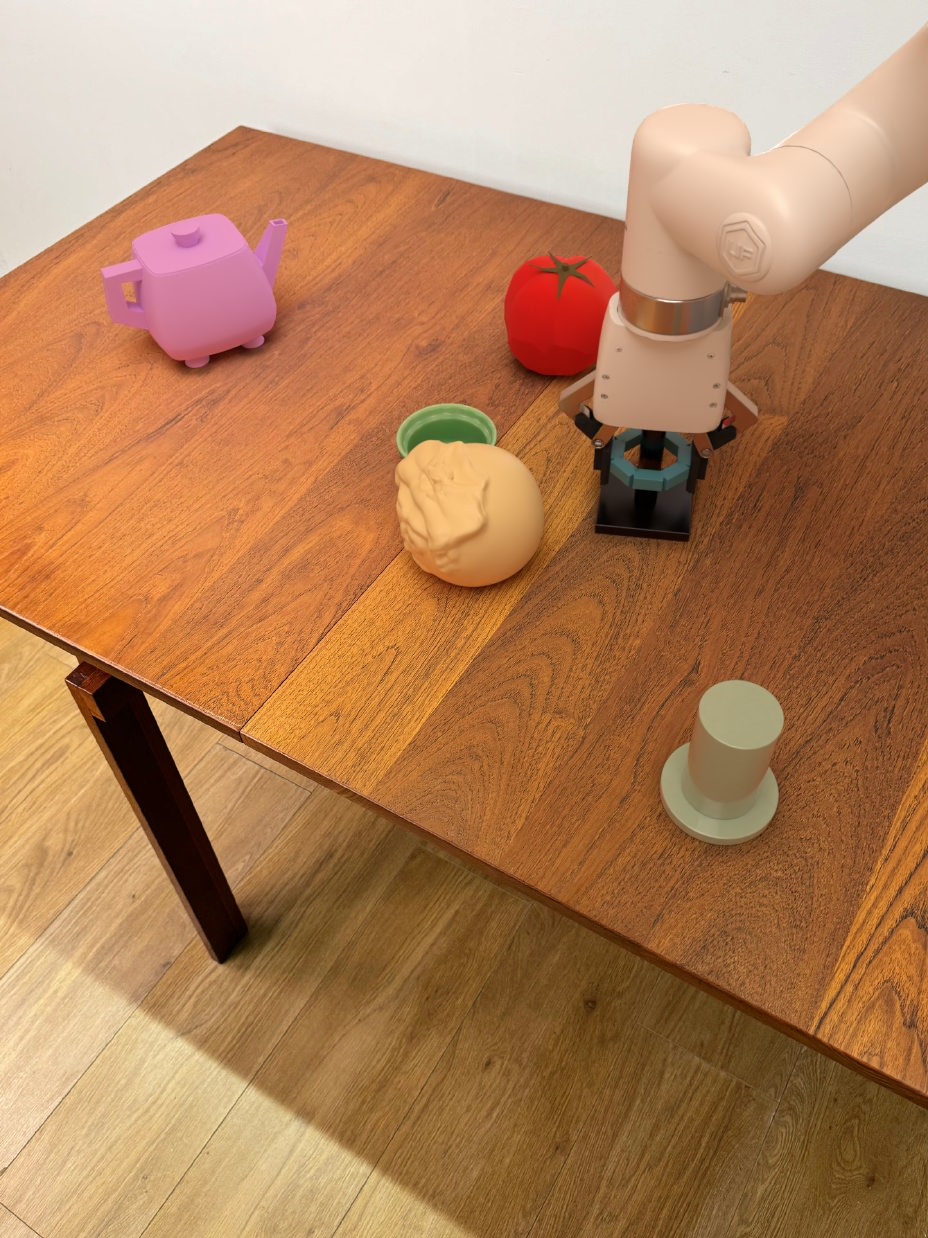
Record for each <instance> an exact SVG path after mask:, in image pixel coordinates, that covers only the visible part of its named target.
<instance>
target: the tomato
mask: <svg viewBox="0 0 928 1238" xmlns="http://www.w3.org/2000/svg"><path fill="white" fill-rule="evenodd" d="M547 252H548V254H547V255H538V256H535V257H533V258H531V259H528V260H527V261H525V262H524V263H523V264H522V265H521V266H520V267H519V268H517V270H516V271H514V273H513V274H512V277H511V279H510V282H509V283H508V288H507V291H506V294H505V297H504V300H503V302H504V304H503V309H504V310H503V311H504V312H503V313H504V314H503V319H504V324H505V327H506V332H507V345H508V347H509V349H510V352H511V353H512V354H513V356H514V357H515V358H516V359H517V360H518V362H520V363H521V364H522V366H524V367H525V368H526V369H528V370H531V371H532V372H535V373H538V374H540V375H543V376H574V375H576V374H578V373H581V372H583V371H585V370H586V369H588V368H589V367H591V366H593V365H594V364H597V358H598V350H599V343H600V336H601V331H602V325H603V321H604V317H605V313H606V310H607V307H608V304H609V301H610V298H611V297H612V296H613V295H614V294H615V293H617V292H619V290H618V288H617V286H616V285H615V283H614V281H613V280H612V278H611V277H610V275H609V274H608V273H607V272H606V271H605V269H604V268H603V267H602V266H601V265H600V264H599V263H598V262H596V261H594V260H593V259H592V257H593V255H591V256H588V257H587V256H583V255H579V254H577V255H573V256H570V257H567V258H566V257H563V256H560V255H557V254H556V255H555V254H552V252H550V251H549V250H547Z"/></svg>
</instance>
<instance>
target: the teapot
mask: <svg viewBox="0 0 928 1238" xmlns="http://www.w3.org/2000/svg"><path fill="white" fill-rule="evenodd" d="M288 228H289V223H288V222H287V220H286V219H285V218H276V219H270V220H268V224H267V227H266V228H265V230H264V232H263V234H262V236H261V238H260V239H259V242H258V243H257V245H256V247H255V249H254V250H252V248H251V247H250V244H249V243H248V241H247V240H246V239H245V237H244V236H243V235H242V234H241V232H240V230H239V229H238V228H237V226H236V225H235V224H234V223H233V222H232V221H231V220H230V219H229V217H228V216H226V215H223V213H208V214H203V215H198V216H194V217H189V218H186V219H180V220H178V221H175V222H172V223H169V224H166V225H162V226H160V227H157V228H155V229H152V230H149V231H146V232H144V233H142V234H141V235H139V236H137V237H136V238H134V239H133V241H132V242H131V251H130V254H131V255H130V257H131V258H130V260H127V261H124V262H120V263H116V264H112V265H109V266H104V267H101V268H100V274H101V279H102V285H103V293H104V297H105V302H106V308H107V314H108V316H109V318H110V320H111V322H112V324H113V323H114V324H117V325H118V324H119V325H123V326H127V327H131V328H137V329H141V330H146V331H147V332H148V333H149V334H150V336H151V337H152V339H153V340H154V341H155V342H156V344H157V345H158V346H159V347H160V348H161V349H162V350H163V351H164V352H165V354H167V355H168V356H169V357H170V358H171V359H173V360H176V361H184V364H185V366H186V367H188V368H193V369H194V368H197V369H198V368H201V367H204V366H205V365H207V364H208V363H209V361H210V356H211V355H215V354H219V353H222V352H225V351H229V350H231V349H234V348H236V347H239V346H242V347H243V348H245V349H255V348H258V347H261V346H262V345H263V344H264V342H265V337H264V336H263V335H265V334H266V333H268V332H269V331H271V330H272V329H273V327H274V324H275V322H276V318H277V311H278V310H277V303H276V299H275V296H274V292H273V290H274V286H275V283H276V278H277V275H278V271H279V266H280V262H281V259H282V258H281V257H282V253H283V249H284V246H285V242H286V236H287V233H288V230H289V229H288ZM126 283H132V289H133V295H134V300H135V301H131V300H130V301H129V300H126V296H125V292H124V289H123V285H122V284H126Z"/></svg>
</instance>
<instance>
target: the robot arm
mask: <svg viewBox="0 0 928 1238" xmlns="http://www.w3.org/2000/svg"><path fill="white" fill-rule="evenodd" d="M631 144H632V145H631V150H630V161H629V172H628V173H629V174H628V183H627V184H628V185H627V195H626V196H627V197H626V206H625V207H626V209H625V220H624V221H625V222H624V231H623V232H624V233H623V243H622V244H623V245H622V254H621V255H622V256H621V267H620V280H619V290H618V292H617V293H615V294H614V295H613V296H612V297H611V298H610V301H609V304H608V307H607V310H606V313H605V317H604V321H603V325H602V331H601V336H600V343H599V350H598V358H597V362H596V365H595V369H594V370H593V371H591V372H590V373H588V374H586V375H585V376H583V377H581V378H580V379H579V380H577V381H576V382H574V383H572V384H571V385H569V386H568V387H566V388H564V389H563V390H561V391H560V392H559V394H558V398H557V407H558V408H559V409H560V410H561V411H562V412H563V414H564V415H566V417H568V418H569V419H570V420H572V421H573V422H574V426H575V427H576V428H577V429H578V430H579V432H581V433H583V435H585V436H586V437H587V438H588V439H589V440H590V445H591V446H592V447H593V448H594V452H593V453H594V454H593V465H592V471H599V472H600V475H599V476H600V477H599V486H601V485H605V486H606V484H608V482H609V475H610V459H611V452H612V444H613V439H614V436H615V433H616V432H617V431H618V429H619V428H625V429H629V428H634V429H645V430H657V431H670V432H677V433H685V434H686V433H687V434H690V436H691V461H690V470H689V475H688V479H687V481H686V491H687V492H688V493H692V495H695V493H696V486H697V481H698V480H700V481H705V479H706V475H707V470H708V466H709V465H708V464H709V459H710V458H712V457H713V456H714V454H715V451H717V450H718V449H720V448H722V447H723V446H725V445H727V444H729V443H731V442H733V441H734V440H736V438H737V435H739V434H742V433H744V432H746V431H747V430H748V429H750V428H751V427H753V426H755V425H757V424H758V423H759V421H760V419H759V417H760V416H759V413H760V411H759V410H760V409H759V407H758V405H756V404H755V403H754V402H753V401H752V400H751V399H750V398H748V397H747V396H746V394H745V393H743V392H742V391H741V390H740V389H739V388H737V386H735V384H734V383H732V382H731V381H730V380H729V376H730V375H729V374H730V367H731V359H732V358H731V356H732V347H733V346H732V345H733V331H734V324H733V323H734V320H733V307H732V305H735V303H743V304H744V303H746V301H747V295H748V293H751V294H754V295H758V296H775V295H780V294H783V293H786V292H788V291H790V290H792V289H794V288H795V287H797V286H798V285H800V284H801V283H803V282H804V281H806V280H807V279H808V278H809V277H810V276H811V275H813V274H814V273H815V272H816V271H818V270H819V268H821V267H822V266H823V265H824V264H826V263H827V262H828V261H829V260H830V259H831V258H833V257H834V256H835V255H836V254H837V253H838V252H839V251H840V250H841V249H842V248H843V247H844V246H846V244H848V243H849V242H850V241H851V240H853V239H854V238H855V237H856V236H857V235H859V234H860V233H861V232H862V231H863V230H865V229H866V228H867V227H869V226H871V224H872V223H874V222H875V221H876V220H877V219H879V218H880V217H881V216H883V215H884V214H885V213H886V212H888V211H889V210H891V209H892V208H893V207H894V206H896V205H897V204H898V203H900V202H902V201H903V200H904V199H906V198H907V197H909V196H910V195H911V194H913V193H914V192H915V191H917V190H918V189H920V188H922V187H923V186H925V185H926V184H927V183H928V20H927V21H926V22H925V24H924V25H923V26H922V27H921V28H919V30H918V31H917V32H916V33H915V34H913V36H912V37H910V38H909V39H908V40H907V41H905V43H904V44H902V45H901V47H899V48H898V49H897V50H896V51H895V52H893V53H892V54H891V55H890V56H889V57H888V58H887V59H886V60H884V61H883V62H882V63H881V64H880V65H878V66H877V67H876V68H875V69H874V70H873V71H871V72H870V73H868V75H866V76H865V77H864V78H863V79H862V80H861V81H859V82H858V83H857V84H856V85H854V86H853V87H852V88H851V89H849V90H848V91H847V92H846V93H845V94H843V95H842V96H841V97H840V98H839V99H837V100H836V101H835V102H834V103H832V105H830V106H829V107H828V108H826V109H825V110H823V111H822V112H821V113H820V114H818V115H817V116H816V117H814V118H813V119H812V120H810V121H809V122H808V123H806V124H805V125H803V126H802V127H801V128H799V129H798V130H796V131H794V132H793V133H791V134H790V135H788V136H787V137H786V138H785V139H783V140H782V141H780V142H779V143H778V144H777V145H775V146H774V147H772V148H770V149H769V150H767V151H764V152H760V153H756V154H753V155H751V152H752V138H751V133H750V130H749V128H748V127H747V124H746V123H745V121H744V120H743V119H742V118H741V117H739V116H738V115H737V114H736V113H734V112H733V111H731V110H729V109H727V108H725V107H722V106H718V105H713V104H708V103H699V102H694V103H693V102H688V103H687V102H686V103H677V104H671V105H668V106H664V107H662V108H659V109H657V110H655V111H653V112H652V113H650V114H649V115H647V116H646V117H645V118H644V119H643V120H642V121H641V123H639V126H638V127H637V128H636V131H635V132H634V136H633V138H632V143H631ZM591 397H592V408H591V407H590V406H589V405H587V404H584V402H585V401H587V400H588V399H590V398H591ZM724 408H726V409H727V410H728V411H729V412H730V413H731V415H730V416H726V417H723V414H724V413H723V412H724ZM722 417H723V418H722Z"/></svg>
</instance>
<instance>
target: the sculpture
mask: <svg viewBox="0 0 928 1238" xmlns="http://www.w3.org/2000/svg"><path fill="white" fill-rule="evenodd" d="M394 483H395V485H396V487H397V490H398V492H397V496H396V497H397V500H396V502H395V510H396V514H397V519H398V523H399V526H400V527H399V532H400V536H401V537H402V538H403V539H404V541H403V548H404V550H405V551H407V552H409V553H410V554H411V558H412V559H413V561H414V562H415V563H416V565H418V567H420V569H421V570H422V571H423V572H425V573H426V574H427V573H428V574H432V575H434V576H436V577H437V578H438V579H440V580H442V581H444V582H446V583H449V584H452V585H455V586H459V587H460V586H461V587H470V588H474V587H475V588H478V587H485V586H490V585H494V584H497V583H500V582H502V581H504V580H506V579H508V578H510V577H512V576H513V575H515V574H516V573H518V572H519V571H520V570H521V569H523V568H524V567H525V566H526V565H527V564H528V563H529V561H530V560H531V559H532V558H533V556H534V555H535V553H536V552H537V550H538V548H539V546H540V543H541V542H542V541H541V540H542V537H543V534H544V531H545V530H544V529H545V505H544V501H543V500H544V499H543V496H542V493H541V490H540V487H539V485H538V483H537V481H536V479H535V477H534V475H533V473H532V472H531V470H530V469H529V468H528V467H527V465H526V464H524V463H523V462H522V460H520V458H518V457H517V456H515V454H513V453H512V452H509V451H508V450H506V449H504V448H502V447H500V446H496V445H495V446H493V445H489V444H482V443H467V444H464V443H463V442H461V441H456V442H453V443H448V444H445V443H442V442H441V441H439V440H427V441H424V442H422V443H420V444H419V445H417V446H416V447H415V448H414V449H413V450H412V451H411V452H410V453H409V454H408V456H407V457H406V458H404V459H403V460H402V459H401V460H400V461H399V462H398V464H397V465H396V467H395V471H394Z"/></svg>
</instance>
